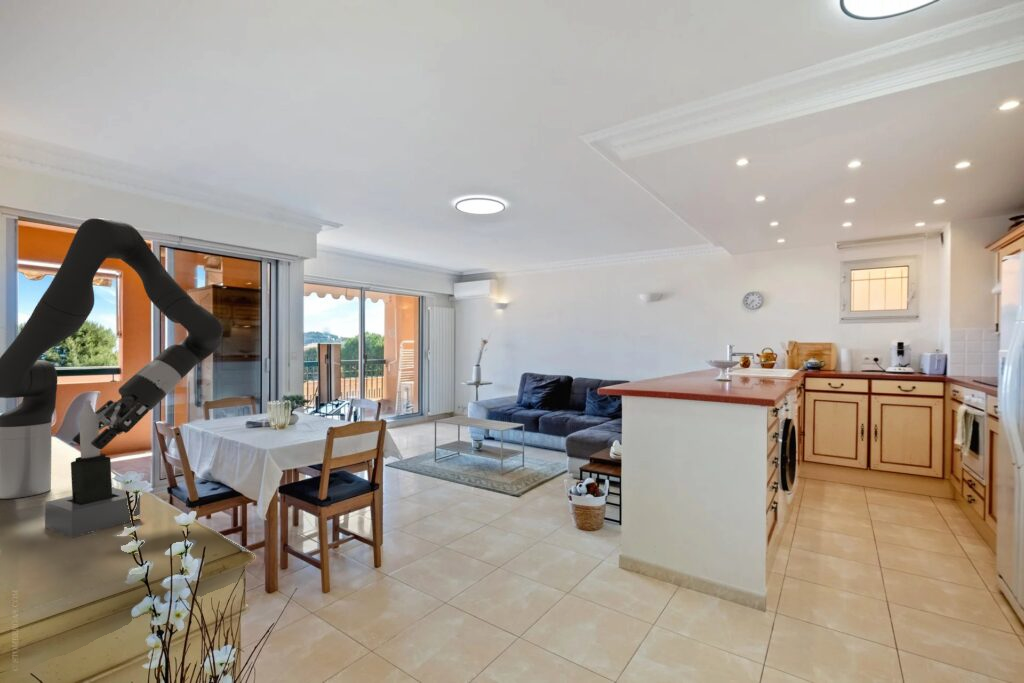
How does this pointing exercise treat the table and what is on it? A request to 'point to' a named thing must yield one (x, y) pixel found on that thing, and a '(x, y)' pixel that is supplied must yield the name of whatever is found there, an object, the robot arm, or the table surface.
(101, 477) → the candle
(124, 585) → the table surface
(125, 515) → the holder
